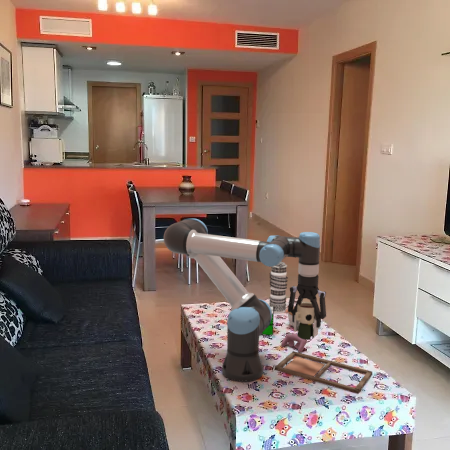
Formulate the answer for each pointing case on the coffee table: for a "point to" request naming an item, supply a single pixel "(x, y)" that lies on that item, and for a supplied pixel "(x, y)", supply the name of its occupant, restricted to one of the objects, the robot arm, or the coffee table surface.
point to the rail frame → (311, 368)
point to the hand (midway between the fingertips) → (305, 332)
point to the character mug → (305, 320)
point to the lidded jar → (291, 318)
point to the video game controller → (291, 338)
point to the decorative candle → (278, 287)
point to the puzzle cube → (270, 328)
